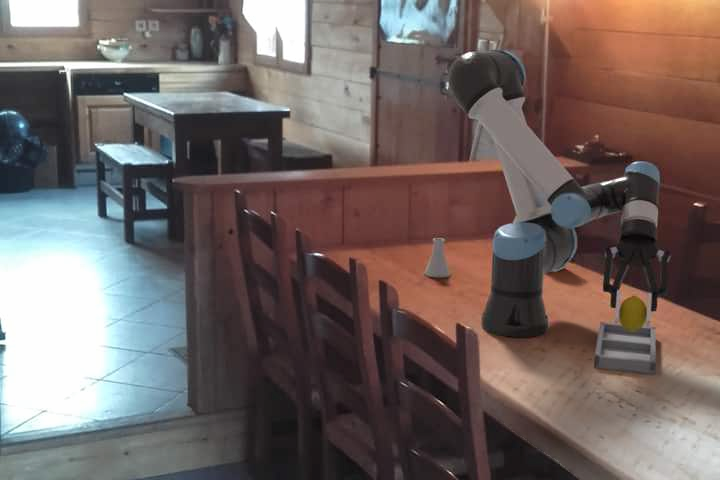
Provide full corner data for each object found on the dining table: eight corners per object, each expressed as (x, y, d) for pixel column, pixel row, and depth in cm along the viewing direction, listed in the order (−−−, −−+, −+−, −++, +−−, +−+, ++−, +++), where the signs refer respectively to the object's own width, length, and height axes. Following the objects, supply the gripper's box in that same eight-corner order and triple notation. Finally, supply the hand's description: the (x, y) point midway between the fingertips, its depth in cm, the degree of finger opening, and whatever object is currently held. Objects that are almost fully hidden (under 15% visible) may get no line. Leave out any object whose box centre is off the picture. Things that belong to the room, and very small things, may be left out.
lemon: (646, 337, 199) (649, 300, 197) (618, 336, 200) (621, 298, 198) (644, 329, 204) (647, 292, 203) (617, 327, 205) (619, 291, 204)
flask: (451, 278, 263) (452, 242, 260) (424, 278, 263) (425, 242, 260) (449, 271, 270) (451, 236, 267) (423, 271, 270) (424, 235, 267)
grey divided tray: (654, 374, 197) (655, 363, 197) (593, 367, 200) (594, 356, 200) (654, 338, 219) (655, 327, 218) (599, 332, 222) (600, 321, 221)
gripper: (682, 238, 210) (678, 335, 199) (594, 233, 215) (585, 327, 204) (685, 219, 204) (681, 318, 192) (594, 214, 209) (585, 310, 197)
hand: (632, 322), depth 198 cm, fingers closed on lemon, 5 cm apart
